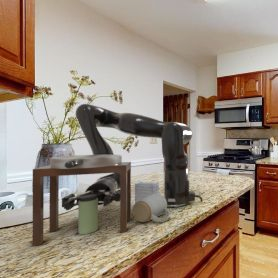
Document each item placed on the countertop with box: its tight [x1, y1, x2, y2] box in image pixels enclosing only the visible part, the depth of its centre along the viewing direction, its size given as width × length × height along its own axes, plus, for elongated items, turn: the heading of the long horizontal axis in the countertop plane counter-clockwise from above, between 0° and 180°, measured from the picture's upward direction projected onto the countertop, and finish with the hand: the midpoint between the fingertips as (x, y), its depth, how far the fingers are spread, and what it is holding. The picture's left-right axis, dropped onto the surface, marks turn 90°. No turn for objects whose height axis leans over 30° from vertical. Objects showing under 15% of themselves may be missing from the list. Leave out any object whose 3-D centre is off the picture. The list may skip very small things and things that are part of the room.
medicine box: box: [134, 181, 160, 205], centre depth 84 cm, size 8×4×9 cm, turn 84°
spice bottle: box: [77, 194, 99, 235], centre depth 59 cm, size 4×4×10 cm
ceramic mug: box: [132, 192, 171, 223], centre depth 68 cm, size 11×8×8 cm
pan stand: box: [32, 154, 132, 247], centre depth 56 cm, size 20×23×21 cm
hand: (86, 204), depth 57 cm, fingers open, 8 cm apart
